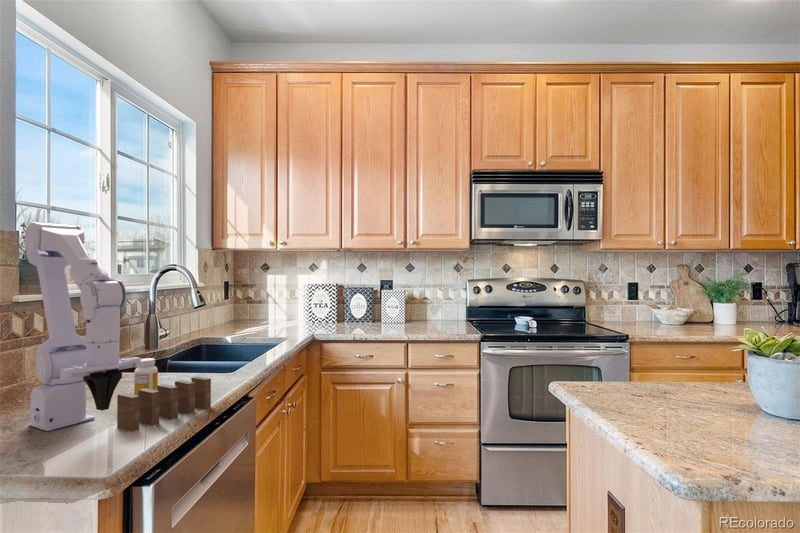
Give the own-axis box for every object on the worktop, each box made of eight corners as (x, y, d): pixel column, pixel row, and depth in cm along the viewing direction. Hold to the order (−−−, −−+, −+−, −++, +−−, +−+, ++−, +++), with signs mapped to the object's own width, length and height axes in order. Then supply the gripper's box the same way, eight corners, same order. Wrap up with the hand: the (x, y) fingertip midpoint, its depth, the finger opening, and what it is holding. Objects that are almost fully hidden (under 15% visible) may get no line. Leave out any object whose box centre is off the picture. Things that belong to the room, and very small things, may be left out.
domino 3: (171, 419, 106) (171, 388, 106) (157, 416, 108) (157, 385, 108) (177, 417, 107) (177, 386, 107) (163, 414, 110) (163, 383, 110)
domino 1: (131, 431, 98) (131, 397, 98) (117, 427, 100) (117, 394, 100) (139, 429, 99) (139, 396, 99) (124, 425, 102) (124, 392, 102)
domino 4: (188, 414, 110) (188, 383, 110) (174, 411, 112) (174, 381, 112) (194, 412, 111) (194, 382, 111) (180, 409, 114) (180, 379, 114)
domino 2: (152, 425, 102) (152, 392, 102) (137, 421, 104) (137, 389, 104) (159, 423, 103) (159, 391, 103) (144, 419, 106) (144, 388, 106)
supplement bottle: (152, 392, 128) (152, 356, 128) (161, 396, 125) (161, 359, 125) (130, 396, 124) (130, 359, 124) (139, 400, 121) (139, 362, 121)
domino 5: (205, 409, 114) (205, 379, 114) (191, 406, 116) (191, 377, 116) (210, 407, 115) (210, 378, 115) (196, 404, 118) (197, 376, 118)
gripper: (74, 348, 87) (74, 422, 87) (149, 338, 100) (149, 403, 100) (54, 344, 90) (53, 416, 90) (129, 335, 103) (129, 398, 103)
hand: (102, 409), depth 95 cm, fingers closed
